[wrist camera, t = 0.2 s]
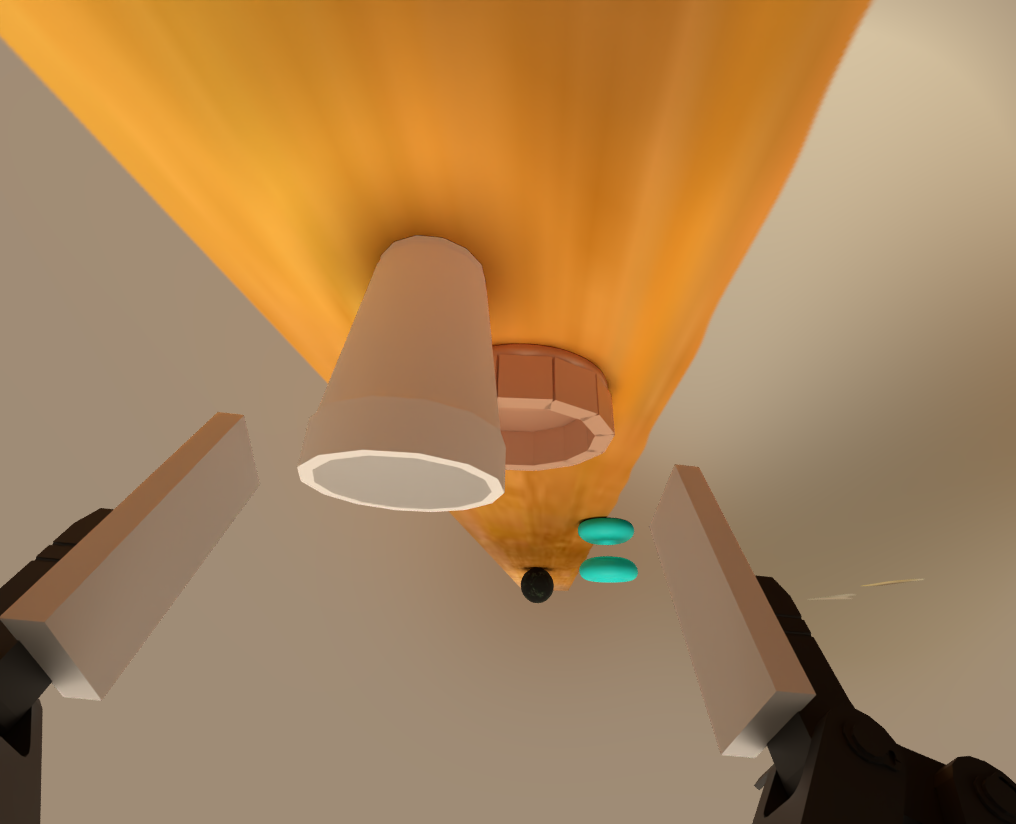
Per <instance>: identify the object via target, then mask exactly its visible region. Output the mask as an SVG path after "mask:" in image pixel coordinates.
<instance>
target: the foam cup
mask: <svg viewBox="0 0 1016 824" xmlns="http://www.w3.org/2000/svg"><path fill="white" fill-rule="evenodd" d="M485 284H486V281H485V277H484V273H483V269H482V265H481V264H480V263H479V262H478V261H477V259H476V258H475V257H474V256H473V255H472V254H471V253H470V252H469V251H468V250H467V249H466V248H464V247H462V246H459V245H457V244H455V243H453V242H451V241H449V240H447V239H444V238H439V237H429V236H419V235H416V236H413V237H409V238H406V239H402V240H399V241H395V242H394V243H393V244H392V245H391V246H390V247H389V248H388V249H387V250H386V251H385V252H384V253H383V254H382V255H381V258H380V261H379V262H378V263H377V266H376V268H375V271H374V273H373V275H372V278H371V280H370V283H369V285H368V288H367V290H366V293H365V295H364V298H363V300H362V302H361V305H360V307H359V310H358V312H357V315H356V317H355V320H354V322H353V325H352V327H351V329H350V332H349V334H348V337H347V339H346V342H345V344H344V347H343V349H342V351H341V354H340V356H339V359H338V361H337V364H336V366H335V369H334V371H333V374H332V376H331V378H330V381H329V383H328V386H327V388H326V391H325V393H324V396H323V398H322V401H321V403H320V406H319V408H318V410H317V412H316V413H315V414H314V415H312V416H311V417H310V418H309V422H308V426H307V430H306V434H305V438H304V442H303V446H302V450H301V454H300V458H299V462H298V466H297V468H298V472H299V475H300V479H301V481H302V482H304V483H305V484H307V485H309V486H310V487H312V488H314V489H315V490H317V491H319V492H321V493H322V494H325V495H329V496H332V497H335V498H339V499H342V500H345V501H349V502H352V503H355V504H361V505H367V506H373V507H380V508H386V509H392V510H406V511H425V512H438V511H454V510H467V509H471V508H475V507H479V506H483V505H487V504H491V503H493V502H494V501H495V500H496V499H497V498H499V497H500V496H501V495H502V494H503V493H504V489H505V460H506V446H505V443H504V440H503V437H502V435H501V431H500V421H499V411H498V401H497V390H496V380H495V370H494V360H493V349H492V339H491V329H490V319H489V308H488V298H487V289H486V285H485Z"/></svg>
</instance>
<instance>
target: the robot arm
mask: <svg viewBox="0 0 1016 824" xmlns="http://www.w3.org/2000/svg"><path fill="white" fill-rule="evenodd" d="M259 486H260V482H259V477H258V473H257V469H256V464H255V460H254V456H253V452H252V447H251V443H250V439H249V434H248V430H247V426H246V421H245V417H244V415H239V414H230V413H220V412H217V414H215V415H214V416H213V417H212V418H211V419H210V420H209V421H208V422H207V423H206V424H205V425H204V426H203V427H201V428H200V429H199V430H198V431H197V432H196V433H195V434H194V435H193V436H192V437H191V438H190V439H189V440H188V441H187V442H186V443H184V444H183V445H182V446H181V447H180V448H179V449H178V450H177V451H176V452H175V453H174V454H173V455H172V456H171V457H169V458H168V459H167V460H166V461H165V462H164V463H163V464H162V465H161V466H160V467H159V468H158V469H157V470H156V471H155V472H153V474H151V475H150V476H149V477H148V478H147V479H146V480H145V481H144V482H143V483H142V484H141V485H140V486H139V487H138V488H136V489H135V490H134V491H133V492H132V493H131V494H130V495H129V496H128V497H127V498H126V499H125V500H124V501H123V502H122V503H120V504H119V505H118V506H117V507H116V508H115V509H114V510H113V509H104V508H100V509H98V510H97V511H95V512H93V513H91V514H89V515H88V516H86V517H84V518H82V519H80V520H79V521H77V522H75V523H74V524H73V525H71V526H70V527H69V528H68V529H67V530H66V531H65V532H63V533H62V534H61V535H60V536H59V537H58V538H57V539H55V540H54V541H53V542H54V543H53V545H49V546H48V547H47V548H45V549H44V550H43V551H42V552H41V553H40V554H39V555H38V556H37V557H36V560H35V561H31V562H29V563H28V564H27V565H26V566H25V567H24V568H23V569H22V570H20V572H18V573H17V574H16V575H15V576H14V577H13V578H11V579H10V580H9V581H8V582H7V583H6V584H5V585H3V586H2V587H1V588H0V824H40V806H41V805H40V804H41V758H42V706H41V703H40V700H39V699H38V698H39V697H40V695H41V694H42V693H43V692H44V691H45V689H46V688H47V687H48V686H49V685H50V684H51V683H52V684H53V685H54V686H55V687H56V689H57V690H58V691H59V692H60V694H61V695H62V696H63V697H68V698H79V699H90V700H102V699H103V698H104V697H105V696H106V694H107V693H108V691H109V690H110V689H111V687H112V686H113V685H114V683H115V682H116V680H117V679H118V678H119V676H120V675H121V674H122V672H123V671H124V670H125V668H126V667H127V665H128V664H129V663H130V661H131V660H132V659H133V657H134V656H135V655H136V653H137V652H138V651H139V649H140V648H141V646H142V645H143V644H144V642H145V641H146V640H147V638H148V637H149V636H150V634H151V633H152V631H153V630H154V629H155V627H156V626H157V625H158V623H159V622H160V621H161V619H162V618H163V616H164V615H165V614H166V612H167V611H168V610H169V608H170V607H171V606H172V604H173V602H174V601H175V600H176V599H177V597H178V596H179V595H180V593H181V592H182V590H183V589H184V588H185V586H186V585H187V584H188V582H189V581H190V580H191V578H192V577H193V575H194V574H195V573H196V571H197V570H198V569H199V567H200V566H201V564H202V563H203V562H204V560H205V559H206V557H207V556H208V555H209V554H210V552H211V551H212V550H213V548H214V547H215V546H216V544H217V543H218V541H219V540H220V538H221V537H222V536H223V535H224V533H225V532H226V531H227V529H228V528H229V526H230V525H231V524H232V522H233V521H234V519H235V518H236V517H237V515H238V514H239V513H240V511H241V510H242V508H243V507H244V506H245V505H246V503H247V502H248V501H249V499H250V498H251V496H252V495H253V494H254V492H255V491H256V490H257V488H258V487H259ZM649 527H650V531H651V534H652V537H653V540H654V543H655V547H656V550H657V553H658V556H659V559H660V562H661V565H662V568H663V572H664V575H665V578H666V582H667V585H668V588H669V591H670V594H671V597H672V601H673V604H674V607H675V610H676V613H677V616H678V620H679V623H680V626H681V629H682V632H683V636H684V638H685V642H686V645H687V648H688V651H689V654H690V657H691V661H692V664H693V667H694V670H695V674H696V677H697V680H698V683H699V686H700V690H701V692H702V696H703V699H704V702H705V705H706V708H707V712H708V715H709V718H710V721H711V725H712V728H713V731H714V734H715V737H716V740H717V744H718V747H719V750H720V753H721V755H728V756H739V757H751V758H756V756H758V754H759V753H760V752H761V751H762V750H763V749H764V748H765V747H766V746H768V749H769V751H770V754H771V757H772V759H773V762H774V764H773V766H771V767H770V768H769V769H768V770H767V771H766V772H765V773H764V774H763V775H762V776H761V777H760V778H759V779H758V781H757V782H756V784H755V785H754V786H755V787H756V788H757V789H759V790H760V789H761V788H762V787H763V786H764V789H763V792H762V795H761V798H760V801H759V804H758V807H757V811H756V814H755V817H754V820H753V823H752V824H1016V784H1015V783H1014V782H1013V781H1012V780H1011V779H1010V778H1009V777H1007V776H1006V775H1005V774H1004V773H1003V772H1001V771H1000V770H998V769H996V768H995V767H993V766H992V765H990V764H988V763H987V762H985V761H982V760H979V759H977V758H973V757H971V756H964V757H957V758H956V759H954V760H953V761H951V762H950V763H949V764H947V765H945V764H943V763H940V762H938V761H936V760H933V759H930V758H928V757H926V756H924V755H921V754H918V753H916V752H914V751H911V750H909V749H907V748H905V747H902V746H900V745H898V744H896V742H895V741H894V740H893V739H892V738H891V736H890V735H889V734H888V733H887V731H886V730H885V729H884V728H883V727H882V726H880V725H879V724H878V723H877V722H876V721H874V720H873V719H872V718H871V717H870V716H868V715H866V714H864V713H862V712H860V711H859V710H857V709H855V708H854V706H853V705H852V703H851V702H850V700H849V699H848V697H847V695H846V693H845V692H844V690H843V688H842V686H841V685H840V683H839V681H838V679H837V678H836V676H835V674H834V672H833V671H832V669H831V667H830V665H829V664H828V662H827V660H826V658H825V656H824V655H823V653H822V651H821V649H820V648H819V646H818V644H817V642H816V641H815V639H814V637H811V632H810V630H809V628H808V627H807V625H806V623H805V621H804V620H802V619H801V614H800V613H799V611H798V609H797V607H796V605H795V604H794V602H793V600H792V598H791V597H790V595H789V594H788V593H787V592H786V591H785V590H784V589H783V588H782V587H781V586H780V585H779V584H778V583H777V582H776V581H775V580H774V579H773V578H772V577H764V576H755V575H754V573H753V571H752V569H751V567H750V565H749V563H748V561H747V559H746V557H745V555H744V554H743V552H742V550H741V548H740V546H739V544H738V542H737V540H736V538H735V536H734V534H733V532H732V531H731V529H730V526H729V524H728V522H727V521H726V519H725V517H724V515H723V513H722V511H721V509H720V507H719V505H718V503H717V501H716V500H715V497H714V495H713V493H712V492H711V489H710V488H709V486H708V484H707V482H706V480H705V478H704V476H703V474H702V472H701V470H700V468H699V467H694V466H686V465H676V464H675V465H674V467H673V470H672V473H671V475H670V477H669V480H668V482H667V485H666V487H665V489H664V492H663V494H662V497H661V499H660V502H659V504H658V507H657V509H656V511H655V514H654V516H653V519H652V521H651V524H650V526H649Z"/></svg>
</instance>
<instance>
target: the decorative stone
mask: <svg viewBox="0 0 1016 824" xmlns="http://www.w3.org/2000/svg"><path fill="white" fill-rule="evenodd" d="M553 588H554V584H553V580H552V578H551V576H550V574H549V573H548V572H547V571H545V570H543V569H540V568H533V569H530V570H529V571H527V572H526V573H525V574H524V576H523V578H522V581H521V590H522V592H523V595H524V596H525V597H526V598H527V599H528V600H529V601H531V602H534V603H541V602H544V601H546V600H547V599H548V598H549V597H550V596H551V594H552V592H553Z"/></svg>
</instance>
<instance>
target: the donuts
mask: <svg viewBox="0 0 1016 824" xmlns="http://www.w3.org/2000/svg"><path fill="white" fill-rule="evenodd" d="M633 533H634V528H633V526H632V524H631V523H630V522H628V521H626V520H623V519H618V518H594V519H589V520H586V521H584V522H582V523H581V524H580V525H579V527H578V534H579V536H580V537H581V538H582V539H583V540H584V541H586V542H589V543H592V544H598V545H614V544H620V543H624V542H626V541H628V540H629V539H630V538H631V537H632V536H633ZM579 571H580V575H581V576H582V577H583V578H584V579H585V580H588V581H593V582H626V581H631V580H633V579H635V578H636V577H637V574H638V570H637V567H636V565H635V564H634V563H633V562H631V561H630V560H628V559H625V558H621V557H612V556H606V557H605V556H603V557H594V558H590V559H587V560H586V561H584V562H583V563H582V564H581V566H580V569H579Z"/></svg>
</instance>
